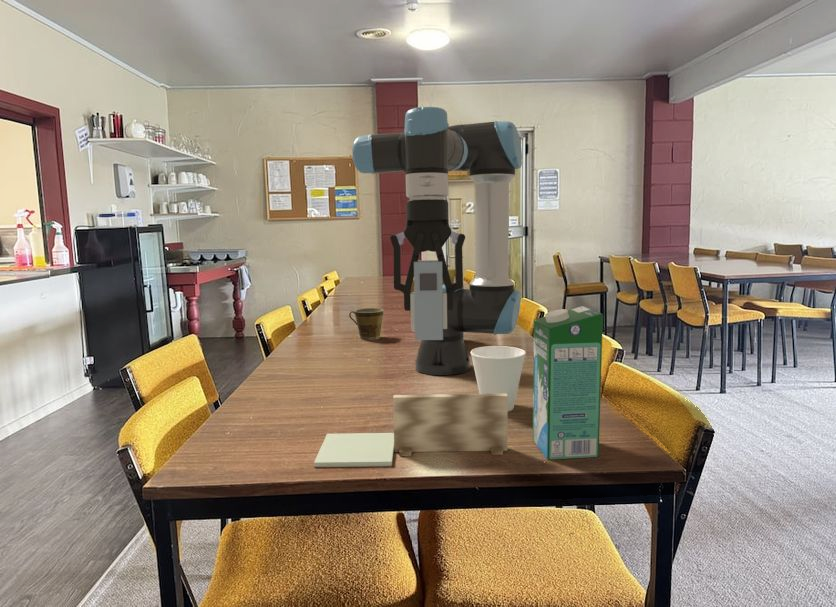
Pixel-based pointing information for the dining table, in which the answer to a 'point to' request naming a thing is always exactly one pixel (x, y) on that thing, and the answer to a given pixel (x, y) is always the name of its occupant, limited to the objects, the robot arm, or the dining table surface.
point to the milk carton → (567, 383)
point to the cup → (498, 370)
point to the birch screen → (450, 423)
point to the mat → (356, 450)
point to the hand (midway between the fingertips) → (428, 327)
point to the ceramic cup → (368, 322)
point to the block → (428, 300)
